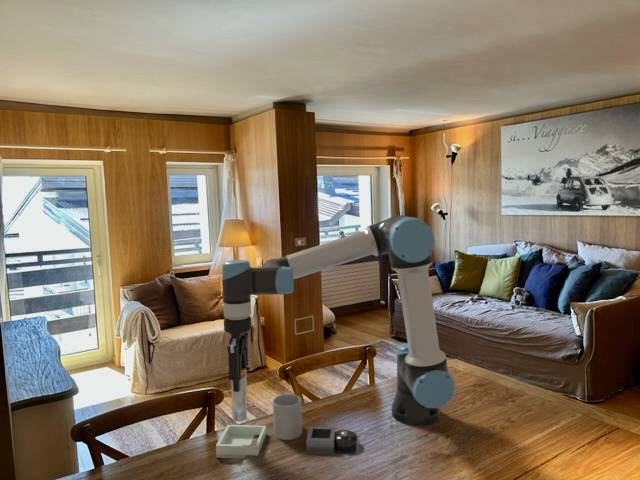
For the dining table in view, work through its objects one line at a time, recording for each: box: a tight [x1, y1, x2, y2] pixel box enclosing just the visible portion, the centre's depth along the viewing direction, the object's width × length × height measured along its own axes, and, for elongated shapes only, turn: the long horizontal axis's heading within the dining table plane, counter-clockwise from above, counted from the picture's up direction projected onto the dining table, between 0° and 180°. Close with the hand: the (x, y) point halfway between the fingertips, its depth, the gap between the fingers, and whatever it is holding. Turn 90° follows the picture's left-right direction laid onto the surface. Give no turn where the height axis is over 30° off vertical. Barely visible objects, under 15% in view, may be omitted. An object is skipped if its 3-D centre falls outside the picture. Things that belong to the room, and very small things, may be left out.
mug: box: [272, 393, 303, 441], centre depth 143 cm, size 12×8×11 cm
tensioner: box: [305, 426, 360, 456], centre depth 135 cm, size 14×10×4 cm
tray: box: [215, 424, 267, 459], centre depth 136 cm, size 12×12×3 cm
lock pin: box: [230, 367, 248, 422], centre depth 135 cm, size 5×5×14 cm
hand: (240, 397), depth 135 cm, fingers closed on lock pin, 4 cm apart
